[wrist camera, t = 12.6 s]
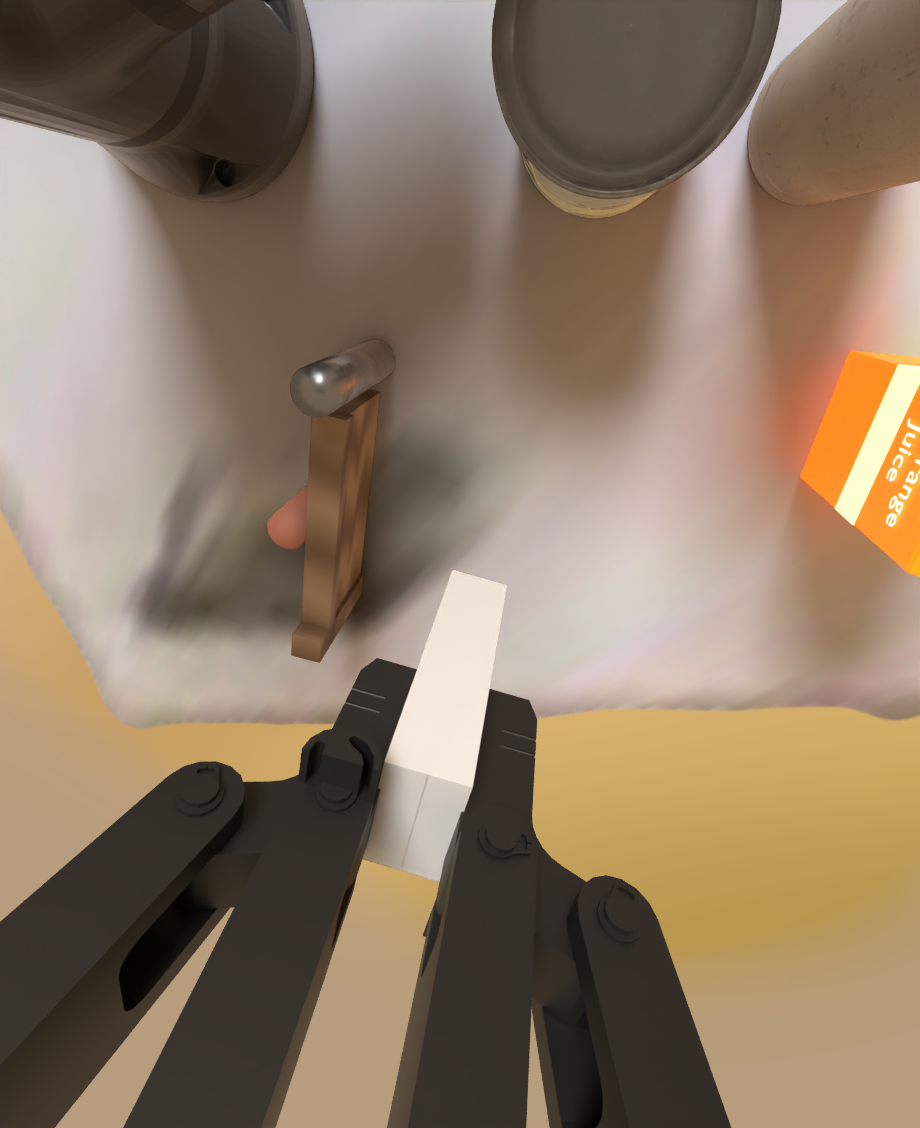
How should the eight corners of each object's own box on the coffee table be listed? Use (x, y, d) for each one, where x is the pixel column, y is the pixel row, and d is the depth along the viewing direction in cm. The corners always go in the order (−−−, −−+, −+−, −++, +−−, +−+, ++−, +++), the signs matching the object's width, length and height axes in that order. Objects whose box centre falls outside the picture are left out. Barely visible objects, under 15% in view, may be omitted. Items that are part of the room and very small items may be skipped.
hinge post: (353, 367, 42) (284, 402, 31) (366, 332, 41) (299, 356, 30) (386, 386, 42) (328, 426, 32) (401, 351, 41) (346, 381, 30)
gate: (355, 386, 42) (301, 418, 33) (384, 392, 41) (337, 427, 33) (338, 587, 50) (291, 655, 42) (361, 593, 50) (319, 662, 42)
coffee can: (482, 111, 34) (436, 23, 21) (632, -57, 29) (684, -288, 17) (582, 259, 36) (593, 257, 24) (733, 125, 32) (840, 40, 20)
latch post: (300, 502, 48) (262, 537, 42) (311, 473, 47) (273, 505, 40) (331, 518, 48) (298, 555, 42) (343, 490, 47) (311, 524, 41)
